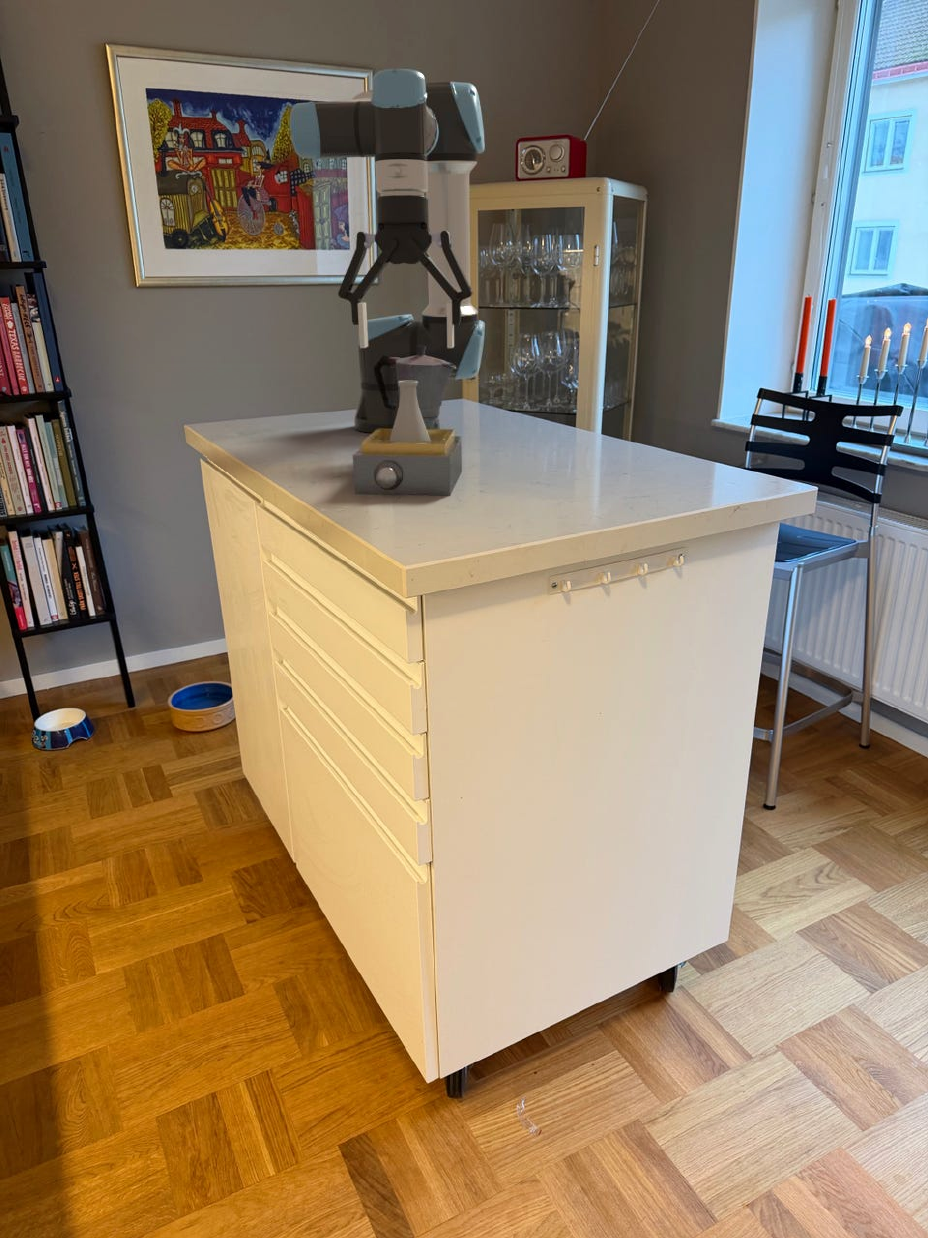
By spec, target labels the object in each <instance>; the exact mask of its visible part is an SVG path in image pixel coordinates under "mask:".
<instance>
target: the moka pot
mask: <svg viewBox="0 0 928 1238" xmlns="http://www.w3.org/2000/svg"><path fill="white" fill-rule="evenodd" d="M425 349H426V347H425V346H423V345H420V346H417V350H418V355H416V356H411V357H406V358H398V357H389V356H386V355H383V357H382V358H380V361H378V362H377V364H376V365H375V366H374V374H375V377H376V381H377V383H378V386H379V389H380V393H381V397H382V399H383V403H384V406H385V407H386V408H389V409H394V410H395V409H396V408H397V405H396V404H391V403H390V402H389V399H388V397H387V395H386V389H385V385H384V381H383V377H382V374H381V372H380V369H381V367H382V366H385V365H386V366H387V367H389V368H395V369H396V373H397V383H398V381H412V380H413V381H418V385H417V386H416V395H417V401H418V406H419V409H420V412H421V415H422V418H423V421H424V424H425V426H426V429H441V428H440V427H441V426H440V425H441V424H440V417H439V416H440V414H441V413H440V412H441V411H440V410H441V406H442V403H443V396H444V390H445V389H446V386H447V385H448V382H449V380H450V379H449V378H450V376H451V374H452V372H453V370H454V369H456V367H455V365H453V364H452V363H449V362H446V361H444V360H441V359H437V358H433V357H430V356H426V355H424V354H425ZM398 393H399V402H400V386H399V385H398Z"/></svg>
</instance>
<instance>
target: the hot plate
mask: <svg viewBox="0 0 928 1238" xmlns="http://www.w3.org/2000/svg"><path fill="white" fill-rule="evenodd" d="M392 430H393V429H377V430H376V431H374V432H373V433H371V434H369V436H367V437H366V438H365V439H364V440H363V441H362V442H361V447H360V448H359V449H358V450H357V451H355V452H354V453H353V454H352V469H353V482H354V483H353V485H354V486H353V487H354V494H355V495H356V494H357V495H361V494H363V495H401V496H402V495H404V496H406V495H407V496H409V495H411V496H412V495H413V496H415V495H416V496H451V495H452V493H453V491H454V488H455V486H456V484H457V482H458V480H459V478H460V476H461V474H462V471H463V460H462V457H463V456H462V454H463V452H462V451H463V450H462V445H463V442H462V439H463V437H462V435H460V436H459V435H458V436H457V435H456V436H455V429H449V428H447V429H446V428H445V429H444V428H443V429H441V428H440V429H427V432H428V434H429V437H430V440H431V443H411V442H389V440H390V436H391V433H392Z"/></svg>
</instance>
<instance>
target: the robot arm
mask: <svg viewBox="0 0 928 1238" xmlns="http://www.w3.org/2000/svg"><path fill="white" fill-rule="evenodd" d="M482 113H483V112H482V108H481V102H480V96H479V93H478V90H477V88H476V86H474V85H473V84H472V83H470V82H461V81H459V82H458V81H445V82H444V81H442V82H426V78H425V75H424V74H423V73H422V72H421V71H418V70H415V69H407V68H389V69H383V70H379V71H377V72H375V74H374V75H373V77H372V88H371V89H370V90H367V91H362V92H360V93H358V94H356V95H355V96H353V97H352V99H344V100H342V99H341V100H333V101H318V102H317V101H316V102H315V101H309V102H300V103H295V104H294V105H293V106H292V107H291V110H290V113H289V132H290V139H291V143H292V147H293V150H294V152H295V154H297V156H298V157H300V158H301V159H315V160H321V159H343V158H345V159H347V158H374V159H375V165H374V167H375V190H376V192H377V193H379V194H380V196H378V197H377V199H376V210H377V211H376V214H377V215H376V216H377V217H376V218H377V230H376V233H375V234H374V233H367V232H365V231H358V232H357V233H356V242H355V243H356V245H355V250H354V252H353V255H352V258H351V260H350V263H349V264H348V268H347V270H346V272H345V275H344V277H343V280H342V282H341V284H340V288H339V289H338V293H337V295H338V297H339V298H340V299H344V300H346V301H348V302H350V308H351V309H350V310H351V322H352V325H353V326H357V325H358V336H357V337H358V342H357V346H358V359H359V360H358V362H359V363H358V364H359V376H360V379H359V380H360V381H359V382H360V396H359V399H358V404H357V407H356V409H355V410H356V411H355V415H354V417H353V418H354V419H353V420H354V429H355V430H357V431H359V432H363V433H371V434H372V433H373V432H374V431H376V430H377V429H393V426H394V423H395V420H396V416H397V412H398V408H399V393H398V383H397V373H396V369H395V368H389V367H387V366H386V365H385V366H382V367H381V369H380V372H381V374H382V377H383V381H384V385H385V389H386V395H387V397H388V399H389V402H390V403H391V404H396V405H397V408H396V409H395V410H394V409H389V408H386V407H385V406H384V403H383V399H382V397H381V393H380V389H379V386H378V383H377V381H376V377H375V374H374V366H375V365H376V364H377V362H378V361H380V358H382V357H383V355H386V356H389V357H398V358H406V357H411V356H416V355H418V350H417V346H420V345H423V346H425V347H426V349H425V354H424V355H426V356H430V357H433V358H437V359H441V360H444V361H446V362H449V363H452V364H453V365H455V367H456V369H454V370H453V372H452V374H451V376H450V378H449V380H453V379H454V380H455V381H458V380H462V379H466V380H467V379H472V378H473V379H474V378H475V377H476V376H477V375H478V374H479V372H480V368H481V364H482V357H483V351H484V344H485V329H486V323H485V322H484V321H482V320H481V319H480V320H478V319H479V317H478V315H479V314H478V313H479V311H478V310H477V309H476V308H475V307H474V306H473V305H472V303H471V297H472V296H473V294H474V293H473V290H472V287H471V241H470V238H471V235H470V234H471V231H470V229H471V227H470V226H471V225H470V223H471V222H470V218H471V216H470V174H471V171H472V170H473V169H474V168H475V166H476V165H477V164H478V154H480V155H481V154H482V153H484V151H485V147H486V146H485V131H484V130H485V129H484V123H483V114H482ZM374 243H375V244H376V245H377V247H378V248H379V249H380V254H379V255H378V257H377V258H376V259H375V260H374V261H375V262H374V263H373V265H372V266H371V267H370V269H368V271H367V273H365V276H364V277H363V279H362V280H361V281H360V282H359V284H358V286H357V287H356V288H355V289H354V290H353V291H352V289H353V287H354V284H355V281H356V280H357V276H358V275H359V272H360V270H361V267H362V264H363V263H364V259H365V257H366V254H367V251H368V249H370V248H372V245H373V244H374ZM419 262H420V263H421V265H422V266H423V267H424V268H425V269H426V270H427V276H428V277H427V278H428V281H427V282H428V304H427V306H426V307H425V309H423V311H422V312H421V321H419V320H418V321H416V320H415V319H414V317H413V314H410V313H408V314H400V315H399V314H397V315H392V316H385V317H378V318H374V319H373V318H372V319H368V315H367V314H368V313H367V312H368V311H367V302H361V301H362V299H363V297H364V296H365V295H366V294H367V292H368V291H369V289H371V287H372V286H373V284H374V282H375V281H376V280H377V278H378V277H379V276H380V274H382V272H383V270H384V269H385V268H386V267H387V266H388V264H389V263H391V264H393V265H401V264H407V265H416V264H418V263H419ZM414 320H415V321H414Z"/></svg>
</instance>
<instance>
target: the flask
mask: <svg viewBox="0 0 928 1238" xmlns="http://www.w3.org/2000/svg"><path fill="white" fill-rule="evenodd" d="M398 385H399V386H400V402H399V408H398V412H397V416H396V420H395V423H394V426H393V430H392V433H391V436H390V440H389V442H411V443H431V440H430V437H429V434H428V432H427V429H426V426H425V424H424V421H423V418H422V415H421V412H420V409H419V406H418V401H417V395H416V386H417V385H418V381H413V380H412V381H398Z"/></svg>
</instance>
